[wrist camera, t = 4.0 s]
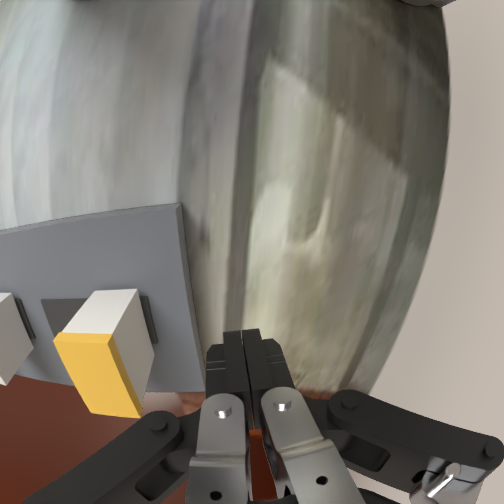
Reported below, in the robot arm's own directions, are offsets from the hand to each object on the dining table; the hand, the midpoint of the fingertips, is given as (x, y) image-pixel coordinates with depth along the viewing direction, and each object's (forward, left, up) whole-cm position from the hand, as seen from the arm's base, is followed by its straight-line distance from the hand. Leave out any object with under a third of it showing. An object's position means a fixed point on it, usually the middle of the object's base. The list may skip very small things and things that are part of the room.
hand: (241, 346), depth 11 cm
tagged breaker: (+6, 0, -2) cm, 6 cm away
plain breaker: (+15, 0, -2) cm, 15 cm away
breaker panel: (+15, 0, -4) cm, 16 cm away
